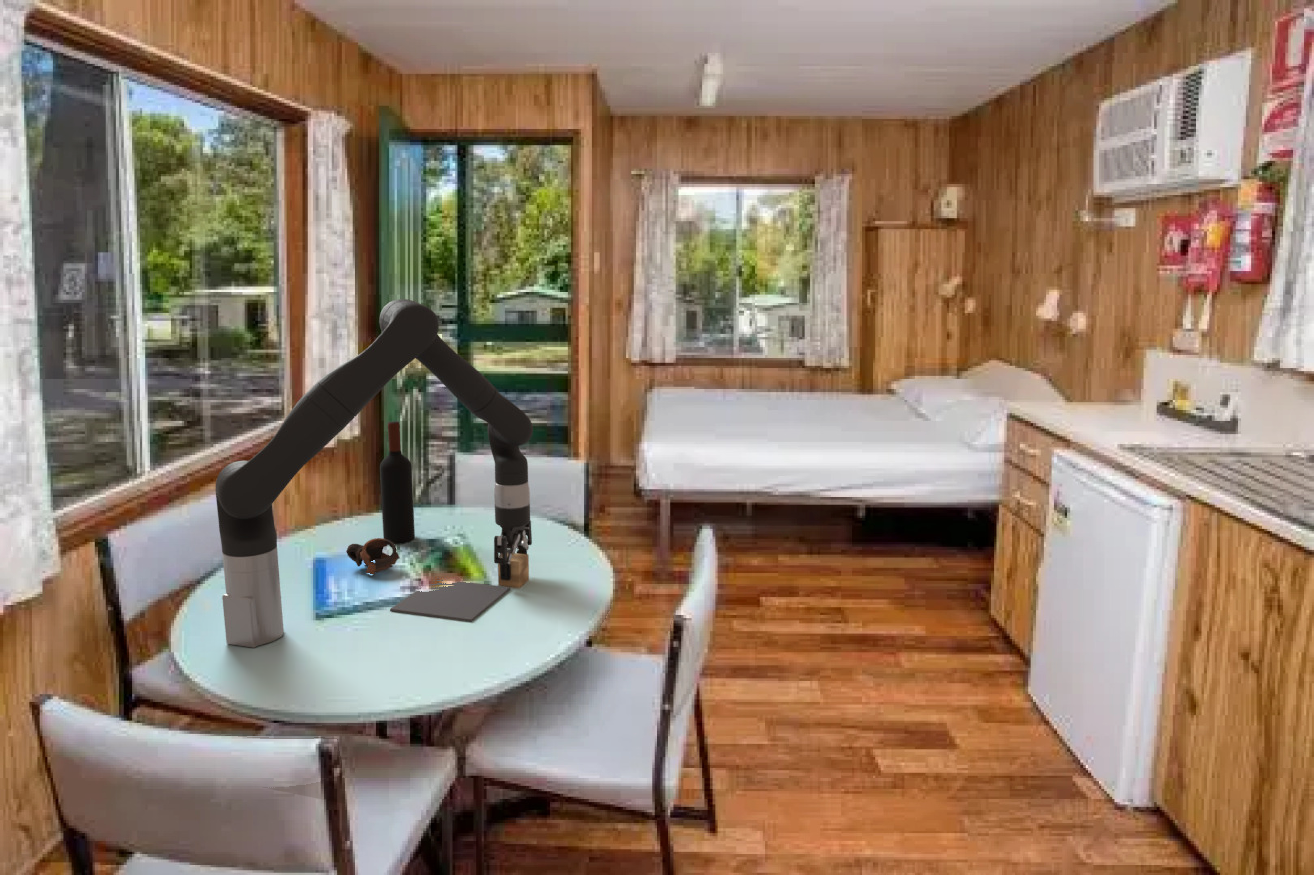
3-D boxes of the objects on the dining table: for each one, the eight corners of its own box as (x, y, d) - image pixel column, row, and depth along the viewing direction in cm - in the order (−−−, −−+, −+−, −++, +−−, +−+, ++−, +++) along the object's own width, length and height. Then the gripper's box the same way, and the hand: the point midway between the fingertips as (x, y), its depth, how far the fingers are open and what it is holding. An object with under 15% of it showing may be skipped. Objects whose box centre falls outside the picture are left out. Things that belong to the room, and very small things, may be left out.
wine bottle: (377, 542, 223) (371, 423, 217) (394, 533, 230) (388, 418, 224) (404, 545, 221) (398, 425, 215) (420, 536, 228) (415, 420, 222)
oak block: (519, 588, 194) (519, 561, 193) (498, 585, 195) (497, 559, 194) (528, 580, 199) (528, 554, 198) (508, 577, 200) (507, 552, 199)
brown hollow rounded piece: (402, 563, 210) (405, 539, 205) (389, 593, 203) (392, 569, 198) (351, 550, 209) (353, 526, 204) (336, 580, 202) (338, 556, 196)
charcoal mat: (471, 621, 176) (471, 619, 176) (390, 611, 181) (390, 608, 181) (510, 589, 193) (510, 587, 193) (435, 580, 198) (435, 578, 198)
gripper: (514, 512, 186) (516, 586, 189) (541, 494, 199) (542, 564, 202) (481, 509, 188) (483, 582, 191) (510, 492, 201) (512, 560, 204)
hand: (514, 573), depth 197 cm, fingers open, 8 cm apart
